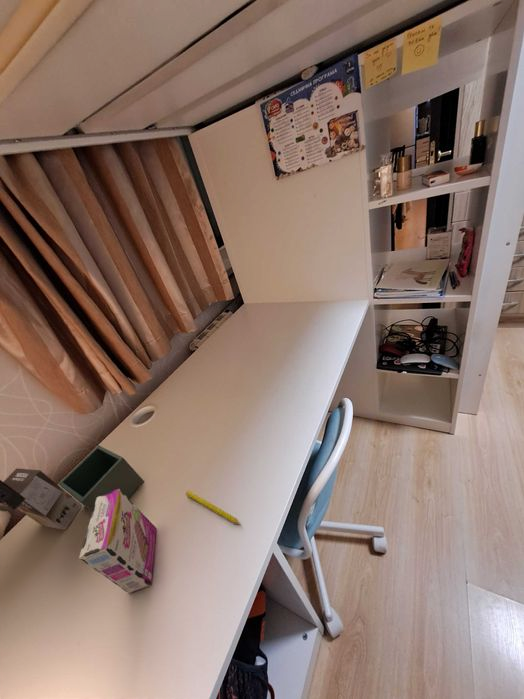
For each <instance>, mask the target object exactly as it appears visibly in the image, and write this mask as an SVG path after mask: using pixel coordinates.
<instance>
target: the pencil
mask: <svg viewBox="0 0 524 699" xmlns="http://www.w3.org/2000/svg"><path fill="white" fill-rule="evenodd" d="M185 495H186V496H187V497H189V498H190V499H192V500H194V501H196V503H199V504H200V505H203V506H204V507H206V508H207V509H209V510H210V511H212V512H214V513H216V514H217V515H219V516H221V517H223V518H224V519H226V520H228V521H229V522H231V523H233V524H236V525H237V524H238V525H241V522H240V521H239V520H238V519H237V517H234V516H233V515H231V514H229V513H228V512H226V511H224V510H223V509H221V508H219V507H217V506H216V505H214V504H212V503H211V502H209V501H207V500H205V499H203V498H201V497H200V496H198V495H196V494H195V493H193V492H192V491H189V490H187V491H186V492H185Z"/></svg>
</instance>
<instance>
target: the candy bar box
mask: <svg viewBox="0 0 524 699" xmlns="http://www.w3.org/2000/svg"><path fill="white" fill-rule="evenodd" d="M156 538H157V527H156V526H155V525H154V524H153V523H152V522H151V520H149V519H148V517H146V515H145V514H144V513H143V512H142V511H141V510H140V509H139V508H138V507H137V506H136V504H134V503H133V502H132V501H131V499H128V498H127V497H126V496H125V495H124V493H123V492H122V491H121V490H120V489H118V490H115V491H112V492H110V493H107V494H105V495H102V496H99V497H97V498H96V502H95V505H94V509H93V512H91V515H90V520H89V522H88V525H87V529H86V533H85V536H84V539H83V543H82V546H81V549H80V553H79V556H78V559H79V560H81V561H82V562H83V563H85V565H88V566H89V567H91V568H92V569H93V570H95V571H96V572H98V573H99V574H100V575H102V576H103V577H105V578H106V579H107V580H109V581H110V582H111V583H113V584H114V585H117V587H119V588H120V589H122V591H124V592H126V593H127V594H133V593H134V592H137V591H139V590H143V589H145V588H148V587H151V586H152V584H153V574H154V573H153V572H154V562H155V549H156Z"/></svg>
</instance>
